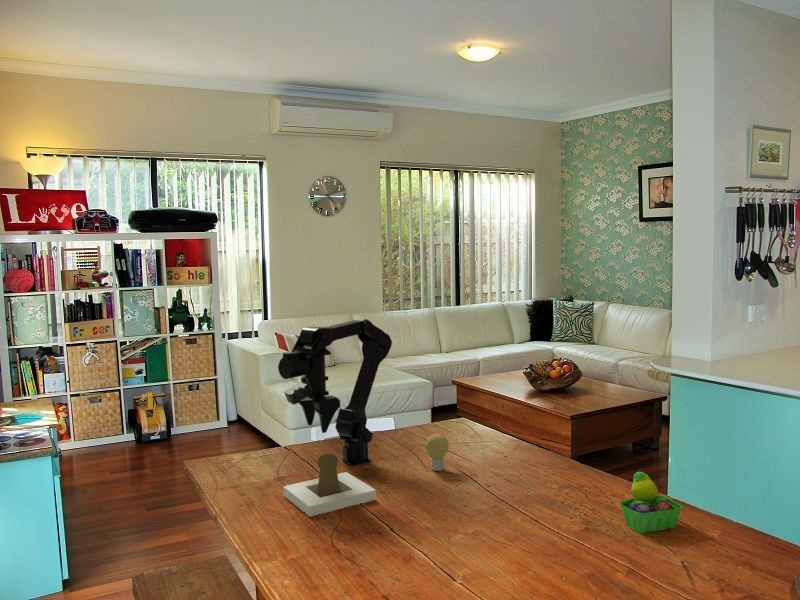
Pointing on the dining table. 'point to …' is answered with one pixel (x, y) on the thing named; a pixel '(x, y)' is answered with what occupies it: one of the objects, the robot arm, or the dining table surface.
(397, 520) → the dining table surface
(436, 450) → the light bulb
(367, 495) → the socket board
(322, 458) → the olive green peg
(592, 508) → the dining table surface
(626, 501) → the fruit basket
